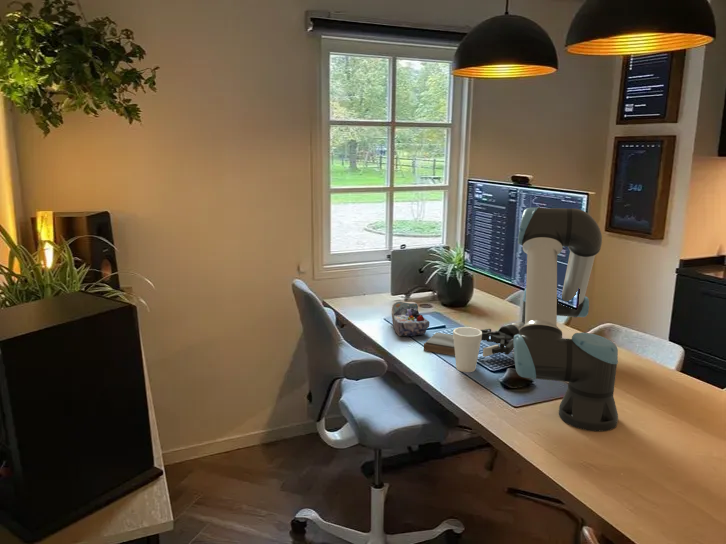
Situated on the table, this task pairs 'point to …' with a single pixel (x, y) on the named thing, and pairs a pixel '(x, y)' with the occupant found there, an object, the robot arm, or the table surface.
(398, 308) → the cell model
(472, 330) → the foam cup
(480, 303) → the table surface
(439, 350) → the stand
